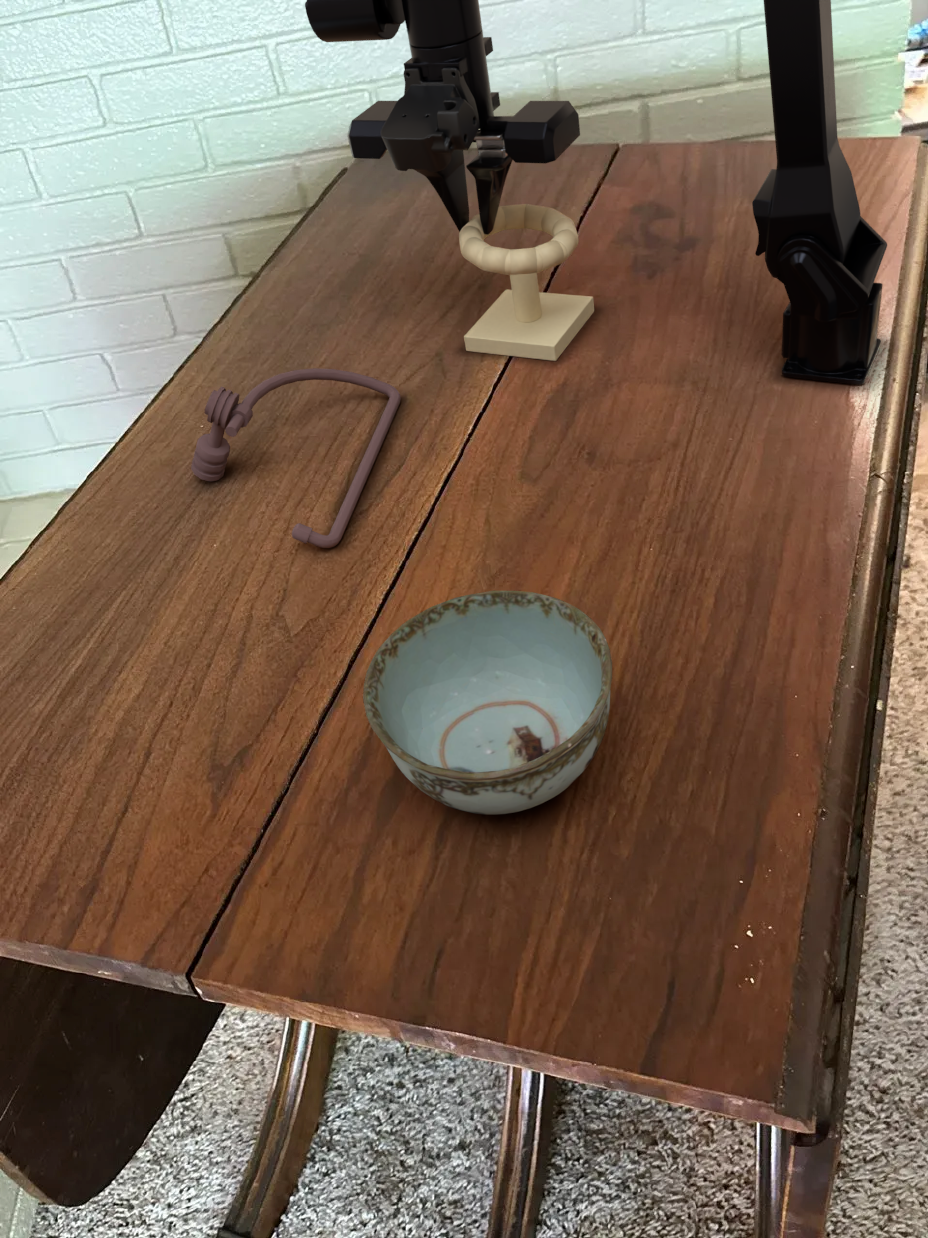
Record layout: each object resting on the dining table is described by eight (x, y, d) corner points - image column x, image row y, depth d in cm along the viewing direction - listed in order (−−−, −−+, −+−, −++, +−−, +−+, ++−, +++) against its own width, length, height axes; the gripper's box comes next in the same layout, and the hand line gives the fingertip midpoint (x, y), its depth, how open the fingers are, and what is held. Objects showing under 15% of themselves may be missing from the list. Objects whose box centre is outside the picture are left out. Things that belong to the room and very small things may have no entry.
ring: (594, 232, 94) (595, 210, 93) (548, 287, 88) (548, 264, 87) (491, 215, 98) (490, 193, 96) (440, 266, 91) (438, 244, 90)
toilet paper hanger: (340, 540, 79) (159, 463, 77) (311, 610, 85) (142, 540, 83) (409, 380, 94) (259, 312, 92) (380, 449, 100) (239, 387, 98)
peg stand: (594, 311, 100) (588, 244, 96) (555, 361, 95) (547, 292, 91) (507, 303, 104) (498, 238, 100) (465, 351, 99) (454, 285, 95)
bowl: (666, 811, 59) (660, 714, 53) (436, 905, 57) (406, 814, 52) (566, 654, 69) (552, 558, 63) (366, 729, 67) (335, 637, 61)
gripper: (289, 74, 82) (338, 268, 93) (510, 72, 74) (536, 283, 85) (363, 25, 89) (401, 211, 99) (573, 18, 81) (590, 221, 91)
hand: (476, 231), depth 94 cm, fingers closed on ring, 2 cm apart
